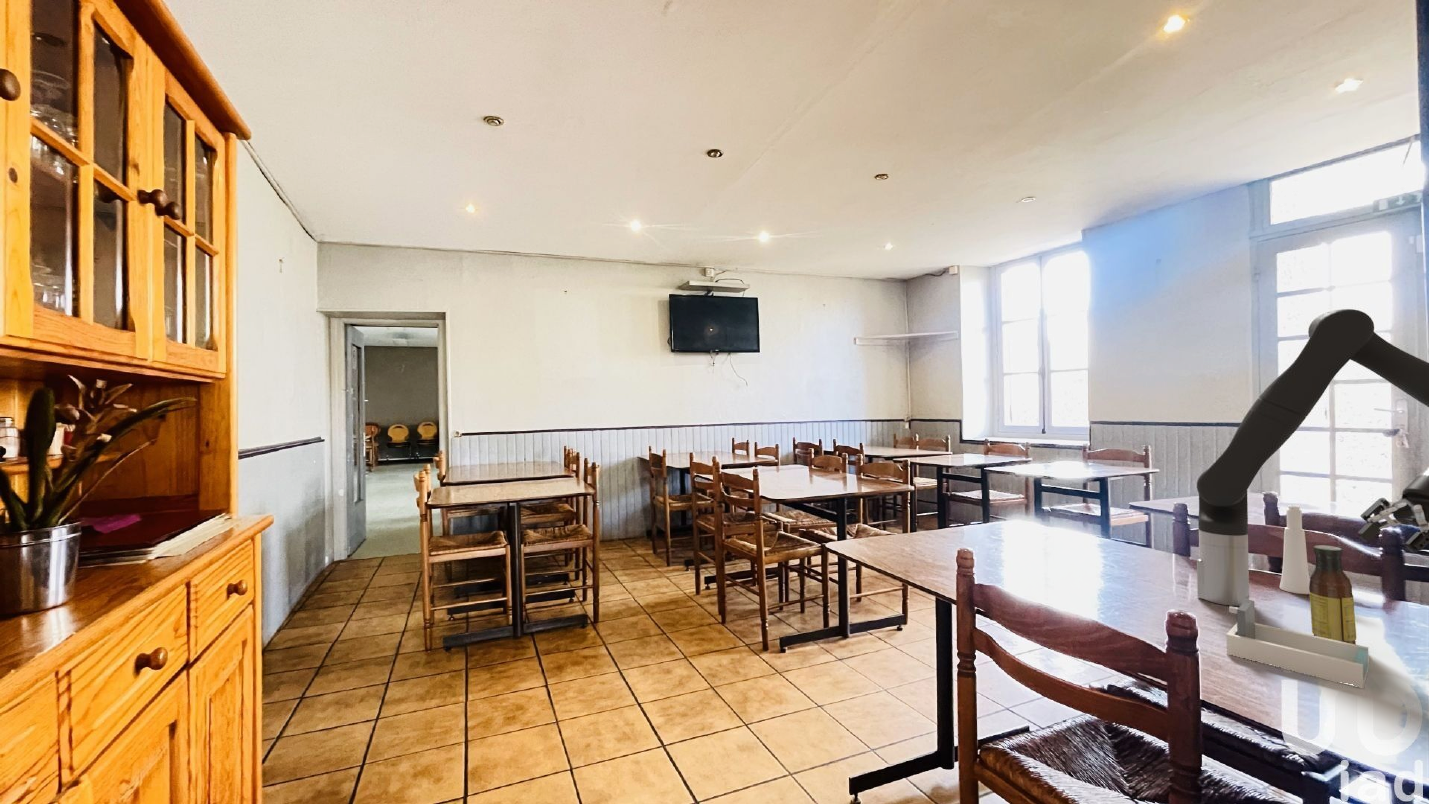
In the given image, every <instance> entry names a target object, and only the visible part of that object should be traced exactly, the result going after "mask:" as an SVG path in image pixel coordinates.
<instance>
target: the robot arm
mask: <svg viewBox="0 0 1429 804" xmlns="http://www.w3.org/2000/svg"><path fill="white" fill-rule="evenodd" d="M1307 331H1308V337H1309V339H1308V340H1307V342H1306V344H1305V345H1304V347H1303V348H1302V350H1301V352H1300V353H1299V354H1298V356H1297V358H1296V359H1295V360H1294V361H1293V362H1292V363H1291V364H1290V366H1288V368H1287V369H1285V370H1284V371H1282V373H1281V374H1280V375H1278V377H1277V378H1276V379H1274V380H1273V381H1272V382H1271V383H1270V384H1269V385H1268V386H1267V387H1266V388H1265V389H1264V391H1263V392H1261V394H1260V395H1259V396H1258V398H1257V399H1256V400H1255V402H1254V403H1253V404H1252V406H1251V407H1250V409H1249V410H1247V413H1246V414H1245V416H1244V418H1243V420H1241V422H1240V424H1239V426H1238V428H1237V429H1236V431H1235V432H1234V433H1235V434H1234V435H1233V437H1232V439H1231V440H1230V441H1231V442H1230V443H1229V444H1228V446H1227V447H1226V449H1225V450H1224V451H1223V452H1222V454H1220V456H1219V457H1218V458H1217V459H1216V460H1215V461H1214V463H1212V465H1211V466H1210V467H1209V468H1207V469H1205V470H1204V471H1203V472H1202V473H1201V474H1200V475H1199V477H1198V479H1197V481H1196V489H1197V493H1198V520H1197V521H1198V523H1197V524H1198V525H1197V526H1198V551H1199V552H1198V553H1199V557H1198V559H1197V560H1196V577H1197V579H1196V580H1197V581H1196V585H1197V586H1196V587H1197V598H1198V599H1203V600H1205V601H1207V602H1211V603H1214V604H1219V605H1225V606H1231V607H1240V606H1241V605H1242V604H1243V603H1244V602H1245V601H1246V599H1247V600H1250V574H1249V571H1250V570H1249V567H1250V566H1249V537H1248V536H1249V535H1248V533H1249V532H1248V529H1249V527H1248V526H1249V525H1248V524H1249V523H1248V522H1249V516H1248V515H1249V511H1248V510H1249V509H1248V507H1249V506H1248V489H1249V488H1250V485H1251V484H1252V482H1253V480H1254V479H1255V477H1256V476H1257V475H1258V473H1259V471H1260V469H1261V468H1262V467H1263V465H1264V464H1265V463H1266V462H1267V461H1268V460H1269V458H1271V457H1272V456H1273V455H1274V454H1275V453H1276V452H1277V451H1278V450H1279V449H1280V448H1281V447H1282V446H1283V445H1284V444H1285V443H1286V442H1287V441H1288V440H1289V438H1290V437H1292V436H1293V434H1294V433H1295V432H1296V431H1297V430H1298V428H1299V427H1300V426H1301V425H1302V424H1303V422H1304V421H1305V419H1306V418H1307V417H1308V416H1309V414H1311V412H1312V410H1313V409H1314V408H1315V406H1316V405H1317V403H1318V402H1319V401H1320V399H1321V398H1322V396H1323V394H1324V393H1325V392H1326V390H1327V389H1328V387H1329V386H1330V383H1331V382H1332V381H1333V379H1334V378H1335V377H1336V375H1337V374H1338V373H1339V371H1341V369H1342V368H1343V367H1344V366H1345V365H1346V364H1347V363H1348V362H1349V361H1352V362H1355V363H1357V364H1358V365H1360V366H1362V367H1364V368H1366V369H1367V370H1369V371H1371V372H1373V373H1374V374H1376V375H1378V376H1379V377H1381V378H1382V379H1384V380H1386V381H1387V382H1388V383H1390V384H1392V385H1393V386H1394V387H1396V388H1398V389H1399V390H1400V391H1402V392H1404V393H1405V394H1406V395H1409V396H1410V397H1412V399H1415V400H1416V401H1418V402H1419V403H1421V404H1422V405H1424V406H1426V407H1428V408H1429V362H1428V361H1427V360H1424V359H1422V358H1419V357H1417V356H1415V355H1413V354H1410V353H1408V352H1406V351H1404V350H1403V349H1400V348H1399V347H1397V346H1395V345H1393V344H1392V343H1390V342H1389V341H1387V340H1385V339H1384V338H1382V337H1381V336H1380V335H1379V334H1377V332H1375V324H1374V320H1373V318H1371V317H1370V315H1368V314H1367V313H1366V312H1364V311H1361V310H1359V309H1358V310H1357V309H1353V308H1352V309H1351V308H1346V309H1345V308H1343V309H1336V310H1332V311H1327V312H1325V313H1321V315H1318V316H1317V317H1316V318H1314V319H1313V320H1312V321H1311V323H1309V327H1308V329H1307ZM1401 493H1402V496H1401V498H1400V499H1399V500H1396V501H1394V502H1393V501H1388V500H1387V499H1386V498H1384V497H1380V498H1378V499H1377V500H1376V501H1374V503H1373V504H1372V505H1370V506H1369V507H1367V508H1366V510H1365V511H1364V512H1363V513H1362V514H1360V517H1361V518H1362V520H1364V521H1365V522H1366V524H1365V525H1363V526H1362V528H1360V530H1359V531H1358V533H1357V536H1358V537H1359V538H1360V540H1362V541H1363V542H1368V543H1369V542H1370V541H1372V540H1373V539H1374V537H1376V536H1377V535H1378V534H1379V533H1380V532H1381V530H1382V529H1385V528H1387V527H1396V526H1397V527H1398V526H1400V525H1404V526H1412V527H1416V528H1419V530H1420V531H1416V532H1415V533H1414V534H1413V535H1412V536H1411V537H1410V538H1409V539H1408V540H1406V542H1405V543H1404V547H1405V548H1406V549H1407V550H1408V551H1409V552H1411V553H1415V554H1416V553H1418V552H1420V551H1422V550H1424V548H1426V547H1427V545H1429V465H1428V466H1427V467H1425V468H1424V469H1422V471H1421V472H1420V473H1419V474H1418V475H1417V476H1416V477H1415V478H1414V479H1413V480H1412V481H1411V482H1409V484H1407V486H1406V487H1405V488H1404V489H1403V490H1402V492H1401ZM1372 515H1373V516H1372ZM1390 515H1393V518H1394V519H1393V518H1391V517H1390ZM1382 520H1384V521H1382ZM1379 521H1381V522H1379Z"/></svg>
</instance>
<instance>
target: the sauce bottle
mask: <svg viewBox="0 0 1429 804" xmlns="http://www.w3.org/2000/svg"><path fill="white" fill-rule="evenodd" d="M1313 554H1314V556H1315V557H1314V558H1315V565H1314V566H1315V567H1314V569H1313V572H1312V574H1311V575H1310V576H1309V579H1310V584H1309V594H1308V595H1309V602H1310V603H1309V605H1310V607H1309V608H1310V619H1311V632H1312V634H1313V636H1318V637H1323V638H1327V639H1332V640H1337V641H1341V642H1346V643H1350V644H1355V645H1357V644H1356V642H1357V627H1356V616H1355V615H1356V613H1355V602H1354V601H1355V600H1354V594H1353V586H1352V583H1351V580H1350V578H1349V577H1348V576H1347V574H1346V573H1345V572H1344V570H1343V569H1344V568H1343V561H1342V557H1343V555H1344V554H1343V549H1342V548H1341V547H1337V546H1332V545H1314V546H1313Z"/></svg>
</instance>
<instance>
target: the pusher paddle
mask: <svg viewBox="0 0 1429 804" xmlns="http://www.w3.org/2000/svg"><path fill="white" fill-rule="evenodd" d="M1228 606H1229V608H1228V612H1229V613H1232V614H1236V623H1237V635H1238V636H1243V637H1247V638H1251V639H1255V623H1256V616H1255V615H1256V614H1255V601H1254V600H1251V599H1249V600H1247V599H1246V601H1245V602H1244V603H1243V604H1242V605H1241V606H1238V607H1237V606H1230V605H1228Z"/></svg>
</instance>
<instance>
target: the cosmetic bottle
mask: <svg viewBox="0 0 1429 804" xmlns="http://www.w3.org/2000/svg"><path fill="white" fill-rule="evenodd" d="M1302 516H1303V514H1302V510H1301V507H1300V506H1299V505H1293V504H1291V505H1290V504H1289V505H1287V509H1286V527H1284V532H1283V558H1282V568H1281V569H1282V571H1281V577H1280V583H1279V589H1281V590H1282V591H1284V592H1288V593H1293V594H1298V595H1310V594H1309V584H1310V575H1309V574H1310V573H1309V566H1308V555H1307V544H1306V543H1307V542H1306V532H1305V529H1303V518H1302Z"/></svg>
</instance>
